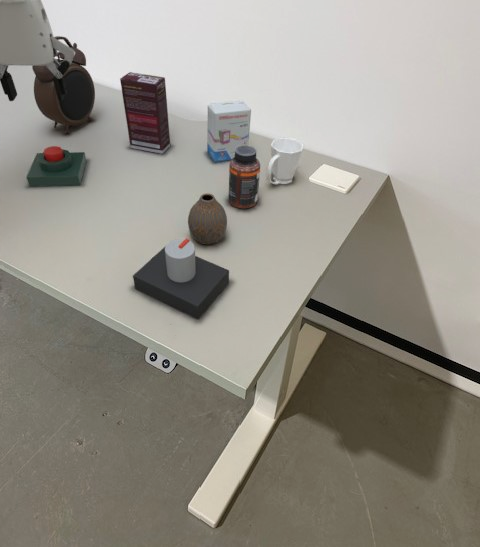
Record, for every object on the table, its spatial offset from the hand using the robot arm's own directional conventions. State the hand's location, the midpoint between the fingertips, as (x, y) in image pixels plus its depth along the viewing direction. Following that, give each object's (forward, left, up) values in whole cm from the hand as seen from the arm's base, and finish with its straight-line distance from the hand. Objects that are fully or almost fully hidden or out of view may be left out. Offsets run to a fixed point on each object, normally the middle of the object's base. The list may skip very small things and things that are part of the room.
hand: (37, 97), depth 78 cm
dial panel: (+25, -36, -16) cm, 47 cm away
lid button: (0, 0, -12) cm, 12 cm away
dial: (+25, -36, -13) cm, 46 cm away
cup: (+47, -6, -16) cm, 50 cm away
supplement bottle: (+38, -13, -16) cm, 43 cm away
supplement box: (+19, +11, -16) cm, 27 cm away
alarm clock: (0, +23, -16) cm, 28 cm away
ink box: (+37, +6, -16) cm, 41 cm away
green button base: (0, 0, -16) cm, 16 cm away
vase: (+30, -24, -16) cm, 42 cm away
